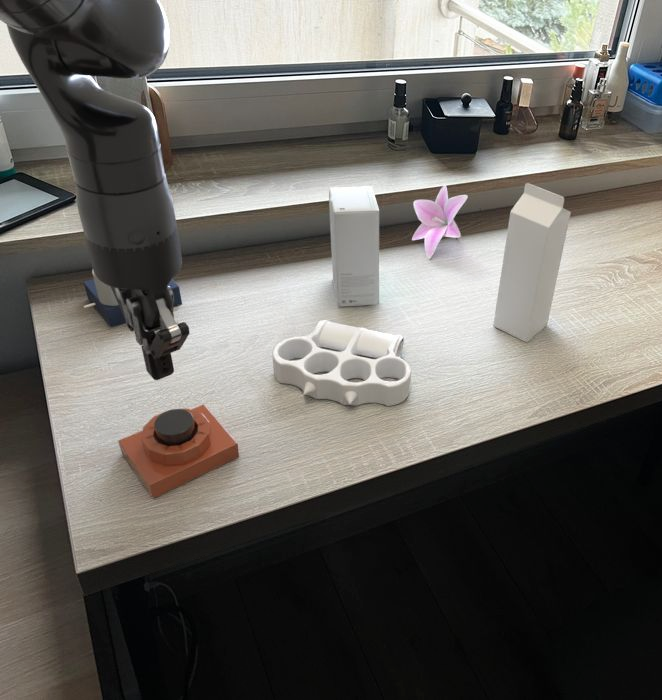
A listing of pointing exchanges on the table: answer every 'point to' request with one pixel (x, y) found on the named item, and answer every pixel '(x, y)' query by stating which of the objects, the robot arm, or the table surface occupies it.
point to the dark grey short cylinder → (175, 427)
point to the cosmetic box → (354, 245)
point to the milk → (531, 262)
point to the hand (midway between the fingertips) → (160, 373)
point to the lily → (437, 219)
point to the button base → (178, 453)
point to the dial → (104, 292)
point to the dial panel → (114, 312)
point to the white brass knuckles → (344, 365)
